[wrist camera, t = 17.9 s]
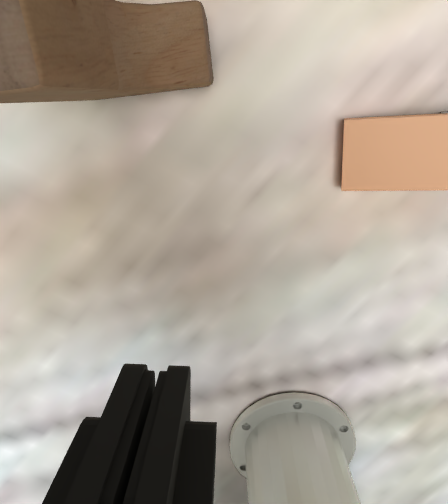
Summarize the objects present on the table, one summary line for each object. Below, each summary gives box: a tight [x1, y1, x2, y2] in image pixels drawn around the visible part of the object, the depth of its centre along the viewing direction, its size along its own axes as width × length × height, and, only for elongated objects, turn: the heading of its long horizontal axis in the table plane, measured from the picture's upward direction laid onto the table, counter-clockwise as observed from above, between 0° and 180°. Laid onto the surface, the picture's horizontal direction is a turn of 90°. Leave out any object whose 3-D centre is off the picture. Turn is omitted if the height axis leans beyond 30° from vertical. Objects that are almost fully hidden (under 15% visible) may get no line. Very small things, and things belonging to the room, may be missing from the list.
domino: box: [341, 113, 448, 191], centre depth 28 cm, size 5×2×10 cm
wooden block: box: [0, 0, 213, 103], centre depth 19 cm, size 9×4×18 cm, turn 96°
